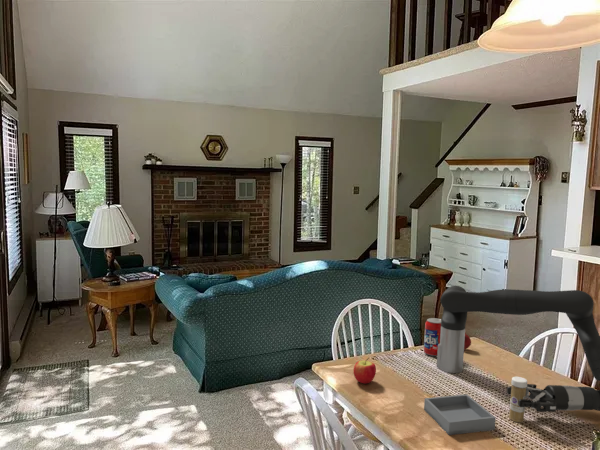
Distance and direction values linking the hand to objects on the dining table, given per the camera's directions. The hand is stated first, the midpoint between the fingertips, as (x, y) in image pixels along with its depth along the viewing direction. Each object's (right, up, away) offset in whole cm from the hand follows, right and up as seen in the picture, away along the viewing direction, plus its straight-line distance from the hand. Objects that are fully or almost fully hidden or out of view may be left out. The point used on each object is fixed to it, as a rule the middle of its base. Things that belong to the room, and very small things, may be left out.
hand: (512, 396), depth 155 cm
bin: (-18, -7, 0) cm, 19 cm away
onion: (+5, -1, +60) cm, 61 cm away
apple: (-44, -4, +26) cm, 51 cm away
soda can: (-11, -1, +55) cm, 56 cm away
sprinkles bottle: (+1, -8, +1) cm, 8 cm away
